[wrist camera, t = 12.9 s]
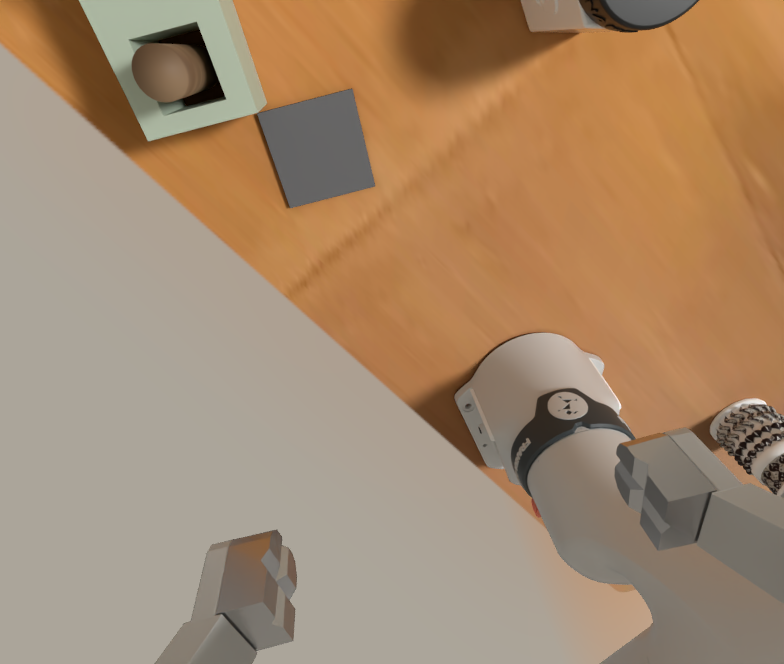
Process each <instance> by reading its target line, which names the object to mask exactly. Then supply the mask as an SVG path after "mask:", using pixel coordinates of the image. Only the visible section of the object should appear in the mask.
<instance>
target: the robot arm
mask: <svg viewBox="0 0 784 664" xmlns="http://www.w3.org/2000/svg"><path fill="white" fill-rule="evenodd" d="M603 369H604V363H603V362H602V360H601V359H600V357H598V356H596V355H593V354H590V353H586V352H583V351H582V350H581V349H579V348H578V347H577V345H575V344H574V343H573V342H572V341H571V340H569V339H567V338H566V337H563V336H561V335H557V334H552V333H533V334H528V335H524V336H520V337H517V338H515V339H512V340H510V341H508V342H506V343H504V344H503V345H501V346H500V347H498V348H497V349H495V350H494V351H493V352H492V353H490V354H489V355H488V356H487V357H486V358H485V360H484V361H483V362H482V363H481V365H480V366H479V368H478V369H477V371H476V373H475V374H474V376H473V377H472V379H471V380H470V381H469V382H468V383H466V384H465V385H464V386H463V387H462V388H460V389H459V390H458V391H457V393H456V394H455V396H454V399H455V402H456V404H457V406H458V408H459V410H460V412H461V414H462V416H463V418H464V420H465V422H466V425H467V427H468V429H469V431H470V433H471V435H472V437H473V439H474V441H475V443H476V445H477V447H478V449H479V452H480V454H481V456H482V458H483V460H484V462H485V463H486V465H487V466H488V467H490V468H496V469H505V471H506V474H507V476H508V478H509V481H510V482H512V483H514V484H516V485H521V486H522V487H523V488H524V490H525V491H526V492H527V493H528V495H529V496H531V497H532V506H533V509H534V512H535V514H536V516H537V517H542V519H543V521H544V523H545V526H546V528H547V530H548V532H549V534H550V536H551V538H552V541H553V543H554V545H555V547H556V549H557V551H558V554H559V555H560V557H561V558H562V559H563V560H564V561H565V562H566V563H567V564H568V565H569V566H570V567H571V568H573V569H574V570H575V571H577V572H578V573H580V574H581V575H583V576H585V577H587V578H589V579H591V580H594V581H597V582H602V583H608V584H623V585H628V584H632V585H633V586H634V587H635V588H636V590H637V591H638V592H639V593H640V595H641V596H642V597H643V599H644V600H645V602H646V604H647V605H648V607H649V609H650V611H651V614H652V619H653V623H652V624H651V626H650V627H649V628H647V629H646V630H645V631H643V632H642V633H641V634H639V635H638V636H637V637H635V638H634V639H632V640H631V641H630V642H628V643H627V644H626V645H624V646H623V647H622V648H620V649H619V650H617V651H616V652H615V653H613V654H612V655H611V656H609V657H608V658H607V659H605V660H604V661H603V662H601V663H600V664H784V498H782V497H779V496H777V495H775V494H773V493H771V492H768V491H766V490H764V489H762V488H760V487H757V486H755V485H753V484H751V483H750V484H744V485H743V484H742V483H741V482H740V481H739V480H738V479H737V478H736V477H735V476H734V474H733V473H732V472H731V471H730V470H729V469H728V468H727V467H726V466H725V465H724V464H723V463H722V462H721V461H720V460H719V459H718V458H717V457H716V456H715V455H714V454H713V453H712V452H711V451H710V450H709V449H708V448H707V447H706V446H705V445H704V443H703V442H702V441H701V440H700V439H699V438H698V437H697V436H696V435H695V434H694V433H693V432H692V431H691V430H689V429H687V428H679V429H675V430H671V431H668V432H664V433H657V434H653V435H650V436H646V437H642V438H638V439H635V437H634V436H633V434H632V433H631V430H630V428H629V427H628V425H627V424H626V423H625V421H624V420H623V419H621V418H620V417H619V411H620V409H621V404H620V402H619V400H618V399H617V397H616V396H615V394H614V393H613V391H612V390H611V388H610V387H609V385H608V384H607V382H606V381H605V379H604V378H603V376H602V373H603ZM466 404H468V405H466ZM296 582H297V574H296V566H295V560H294V557H293V554H292V553H291V551H290V549H289V548H288V547H285V546H283V545H282V536H281V535H280V533H279V532H278V531H277V530H273V531H269V532H264V533H260V534H256V535H252V536H247V537H243V538H239V539H233V540H229V541H225V542H222V543H218V544H213V545H211V547H210V549H209V551H208V552H207V555H206V559H205V563H204V567H203V572H202V576H201V580H200V584H199V588H198V593H197V597H196V601H195V605H194V610H193V614H192V618H191V621H190V622H186V623H184V624H183V626H182V627H181V628H180V630H179V631H178V632H177V634H176V635H175V637H174V638H173V639H172V641H171V642H170V644H169V645H168V646H167V647H166V649H165V650H164V652H163V653H162V654H161V656H160V657H159V658H158V660H157V661H156V663H155V664H252V663H253V661H254V659H255V657H256V655H257V652H256V651H258V650H262V649H265V648H269V647H273V646H277V645H280V644H284V643H287V642H291V641H293V637H294V621H295V608H294V607H293V605H292V604H291V602H290V601H289V600H290V598H291V597H292V595H293V593H294V591H295V590H296Z"/></svg>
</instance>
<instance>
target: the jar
mask: <svg viewBox="0 0 784 664" xmlns="http://www.w3.org/2000/svg"><path fill="white" fill-rule="evenodd" d="M520 1H521V4H522V7H523V10H524V14H525V17H526V20H527V24H528V27H529V30H530V31H531V32H560V33H592V32H613V31H620V32H638V30H650V29H655V28H658V27H661V26H664V25H666V24H669V23H671V22H672V21H674V20H676V19H677V18H679V17H681V16H682V15H683V14H685V13H686V12H687V11H688V10H690V9H691V8H692V7H693V6H694V5H695V4H696V3H697V2H698V1H699V0H520Z"/></svg>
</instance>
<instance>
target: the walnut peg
mask: <svg viewBox="0 0 784 664" xmlns="http://www.w3.org/2000/svg"><path fill="white" fill-rule="evenodd" d="M132 73H133V77H134V79H135V81H136V83H137V85H138V86H139V88H140V89H141V90H142V91H143V92H144V93H145V94H146V95H147V96H149V97H150V98H152V99H154V100H156V101H159V102H165V103H166V102H173V101H176V100H179V99H182V98H184V97H187V96H190V95H193V94H196V93H199V92H202V91H205V90H208V89H210V88H212V87H214V86H215V85H216V84H217V83H218V81H219V79H218V76H217V74H216V71H215V68H214V66H213V63H212V60H211V58H210V55H209V53H208V50H207V48H206V47H204V46H201V45H193V44H159V43H149V44H145V45H143V46H141V47H140V48H138V49H137V50H136V52H135V53H134V55H133V58H132Z"/></svg>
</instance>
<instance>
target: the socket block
mask: <svg viewBox="0 0 784 664" xmlns="http://www.w3.org/2000/svg"><path fill="white" fill-rule="evenodd" d="M79 2H80V4H81V6H82V8H83V10H84V12H85V14H86V16H87V18H88V20H89V22H90V24H91V26H92V28H93V30H94V32H95V34H96V36H97V38H98V40H99V42H100V44H101V46H102V48H103V50H104V52H105V54H106V56H107V59H108V61H109V63H110V65H111V67H112V69H113V71H114V73H115V75H116V77H117V79H118V81H119V83H120V85H121V87H122V89H123V91H124V93H125V95H126V97H127V99H128V101H129V103H130V105H131V107H132V109H133V111H134V113H135V115H136V118H137V120H138V122H139V124H140V126H141V128H142V130H143V132H144V134H145V136H146V138H147V140H148V141H152V140H155V139H159V138H163V137H167V136H171V135H174V134H178V133H182V132H186V131H190V130H194V129H197V128H201V127H205V126H209V125H213V124H217V123H220V122H224V121H228V120H232V119H236V118H239V117H243V116H247V115H251V114H255V113H258V112H259V111H260V110H261V109H262V108H263V107H264V106H265V105H266V104H267V101H266V98H265V95H264V92H263V89H262V86H261V84H260V81H259V78H258V75H257V72H256V69H255V66H254V63H253V60H252V57H251V54H250V51H249V48H248V45H247V42H246V39H245V36H244V33H243V30H242V27H241V24H240V21H239V18H238V15H237V12H236V9H235V6H234V3H233V0H79ZM196 30H200V31H201V34H202V37H203V39H204V42H205V45H206V47H207V50H208V53H209V55H210V58H211V60H212V63H213V66H214V68H215V71H216V74H217V76H218V79H219V81H220V84H221V87H222V89H223V92H224V95H225V96H223V97H219V98H215V99H211V100H208V101H204V102H200V103H196V104H192V105H189V106H186V105H185V102H184V100H183V98H182V99H179V100H176V101H173V102H166V103H165V102H159V101H156V100H154V99H152V98H150V97H149V96H147V95H146V94H145V93H144V92H143V91H142V90H141V89H140V88H139V86H138V85H137V83H136V81H135V79H134V77H133V73H132V58H133V55H134V53H135V52H136V50H137V49H138V48H140V47H141V46H143V45H145V44H149V43H159V42H158V40H162V39H166V38H170V37H173V36H177V35H181V34H185V33H189V32H192V31H196Z"/></svg>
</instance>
